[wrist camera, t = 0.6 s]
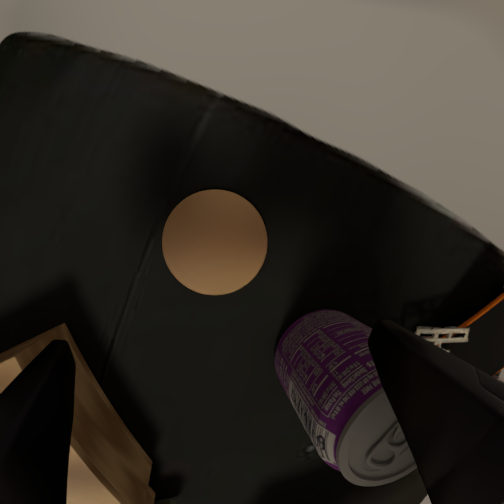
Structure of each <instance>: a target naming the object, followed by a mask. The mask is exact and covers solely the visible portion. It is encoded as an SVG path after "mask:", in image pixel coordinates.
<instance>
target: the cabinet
mask: <svg viewBox="0 0 504 504" xmlns="http://www.w3.org/2000/svg"><path fill="white" fill-rule="evenodd" d="M55 339H58V340H66V341H67V342H68V343H69V346H70V348H71V351H72V354H73V356H74V359H75V363H76V376H75V395H74V417H73V426H72V435H71V444H70V454H69V466H68V480H67V504H145V500H146V494H147V489H148V483H149V478H150V473H151V468H152V460H151V459H150V458H149V456H148V455H147V454H146V453H145V451H144V450H143V449H142V447H141V446H140V445H139V443H138V442H137V441H136V439H135V438H134V437H133V435H132V434H131V432H130V431H129V430H128V428H127V427H126V425H125V424H124V422H123V421H122V420H121V418H120V417H119V415H118V414H117V412H116V411H115V409H114V408H113V406H112V405H111V403H110V402H109V400H108V398H107V397H106V395H105V394H104V392H103V390H102V389H101V387H100V386H99V384H98V382H97V381H96V379H95V377H94V376H93V374H92V372H91V370H90V369H89V367H88V365H87V363H86V362H85V360H84V358H83V356H82V354H81V353H80V351H79V349H78V347H77V345H76V343H75V341H74V339H73V338H72V336H71V334H70V332H69V330H68V328H67V326H66V324H65V323H63V324H61V325H59V326H57V327H55V328H53V329H51V330H48V331H46V332H44V333H42V334H40V335H38V336H36V337H34V338H32V339H30V340H27V341H25V342H23V343H21V344H19V345H17V346H15V347H13V348H11V349H9V350H7V351H5V352H2V353H0V394H1V393H2V391H3V390H4V389H5V388H6V387H7V386H8V385H9V384H10V383H11V382H12V381H13V380H14V379H15V378H16V377H17V376H18V374H19V373H20V372H21V371H22V370H23V369H24V368H25V367H26V366H27V365H28V364H29V363H30V362H31V361H32V360H33V359H34V358H35V357H36V356H37V355H38V354H39V353H40V352H41V351H42V350H43V349H44V348H45V347H46V346H47V345H48V344H49V343H50V342H51V341H52V340H55Z"/></svg>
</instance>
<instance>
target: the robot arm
mask: <svg viewBox="0 0 504 504" xmlns="http://www.w3.org/2000/svg"><path fill="white" fill-rule="evenodd" d="M368 347H369V350H370V353H371V356H372V359H373V361H374V364H375V367H376V370H377V373H378V376H379V379H380V382H381V384H382V387H383V389H384V392H385V394H386V396H387V398H388V400H389V403H390V405H391V407H392V409H393V411H394V414H395V416H396V418H397V420H398V423H399V425H400V427H401V430H402V432H403V434H404V436H405V439H406V441H407V443H408V446H409V448H410V451H411V453H412V455H413V458H414V460H415V463H416V465H417V467H418V470H419V472H420V475H421V477H422V480H423V482H424V485H425V487H426V490H427V493H428V495H429V498H430V501H431V503H432V504H504V382H502V381H500V380H498V379H496V378H494V377H492V376H490V375H488V374H486V373H485V372H483V371H481V370H479V369H477V368H475V367H474V366H472V365H470V364H469V363H467V362H465V361H463V360H461V359H460V358H458V357H456V356H454V355H452V354H451V353H449V352H447V351H445V350H444V349H442V348H440V347H438V346H436V345H435V344H433V343H431V342H429V341H427V340H426V339H424V338H422V337H420V336H419V335H417V334H415V333H413V332H411V331H410V330H408V329H406V328H404V327H402V326H401V325H399V324H397V323H395V322H393V321H392V320H390V319H380V320H377V321H376V322H375V323H374V325H373V328H372V331H371V333H370V336H369V338H368ZM75 376H76V363H75V359H74V356H73V354H72V351H71V348H70V346H69V343H68V342H67V341H66V340H58V339H55V340H52V341H51V342H50V343H49V344H48V345H47V346H46V347H45V348H44V349H43V350H42V351H41V352H40V353H39V354H38V355H37V356H36V357H35V358H34V359H33V360H32V361H31V362H30V363H29V364H28V365H27V366H26V367H25V368H24V369H23V370H22V371H21V372H20V373H19V374H18V376H17V377H16V378H15V379H14V380H13V381H12V382H11V383H10V384H9V385H8V386H7V387H6V388H5V389H4V390H3V391H2V393H1V394H0V504H67V480H68V466H69V454H70V444H71V435H72V426H73V417H74V395H75Z"/></svg>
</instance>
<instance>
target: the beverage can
mask: <svg viewBox="0 0 504 504" xmlns="http://www.w3.org/2000/svg"><path fill="white" fill-rule="evenodd" d="M371 331H372V328H370V327H368V326H366V325H365V324H363V323H361V322H359V321H358V320H356V319H354V318H352V317H351V316H349V315H347V314H345V313H343V312H340V311H337V310H318V311H314V312H311V313H308V314H306V315H304V316H302V317H301V318H299V319H298V320H296V321H295V322H294V323H293V324H292V325H291V326H290V327H289V328H288V329H287V330H286V331H285V333H284V334H283V335H282V337H281V339H280V341H279V343H278V346H277V349H276V353H275V370H276V373H277V376H278V378H279V380H280V382H281V384H282V386H283V388H284V390H285V392H286V394H287V396H288V397H289V399H290V401H291V403H292V405H293V407H294V409H295V411H296V413H297V415H298V416H299V418H300V420H301V422H302V424H303V426H304V428H305V430H306V431H307V433H308V435H309V437H310V439H311V441H312V443H313V444H314V446H315V448H316V450H317V452H318V453H319V455H320V457H321V458H322V459H323V460H324V462H325V463H326V464H328V465H329V466H330V467H332V468H334V469H336V470H338V471H340V472H341V473H342V475H343V476H344V477H345V478H346V479H347V480H348V481H349V482H351V483H353V484H356V485H359V486H379V485H383V484H387V483H390V482H393V481H395V480H397V479H399V478H401V477H403V476H405V475H407V474H408V473H410V472H411V471H413V470H414V469H416V468H417V465H416V463H415V460H414V458H413V455H412V453H411V451H410V448H409V446H408V443H407V441H406V439H405V436H404V434H403V432H402V430H401V427H400V425H399V423H398V420H397V418H396V416H395V414H394V411H393V409H392V407H391V405H390V403H389V400H388V398H387V396H386V394H385V392H384V389H383V387H382V384H381V382H380V379H379V376H378V373H377V370H376V367H375V364H374V361H373V359H372V356H371V353H370V350H369V347H368V338H369V336H370V333H371Z"/></svg>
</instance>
